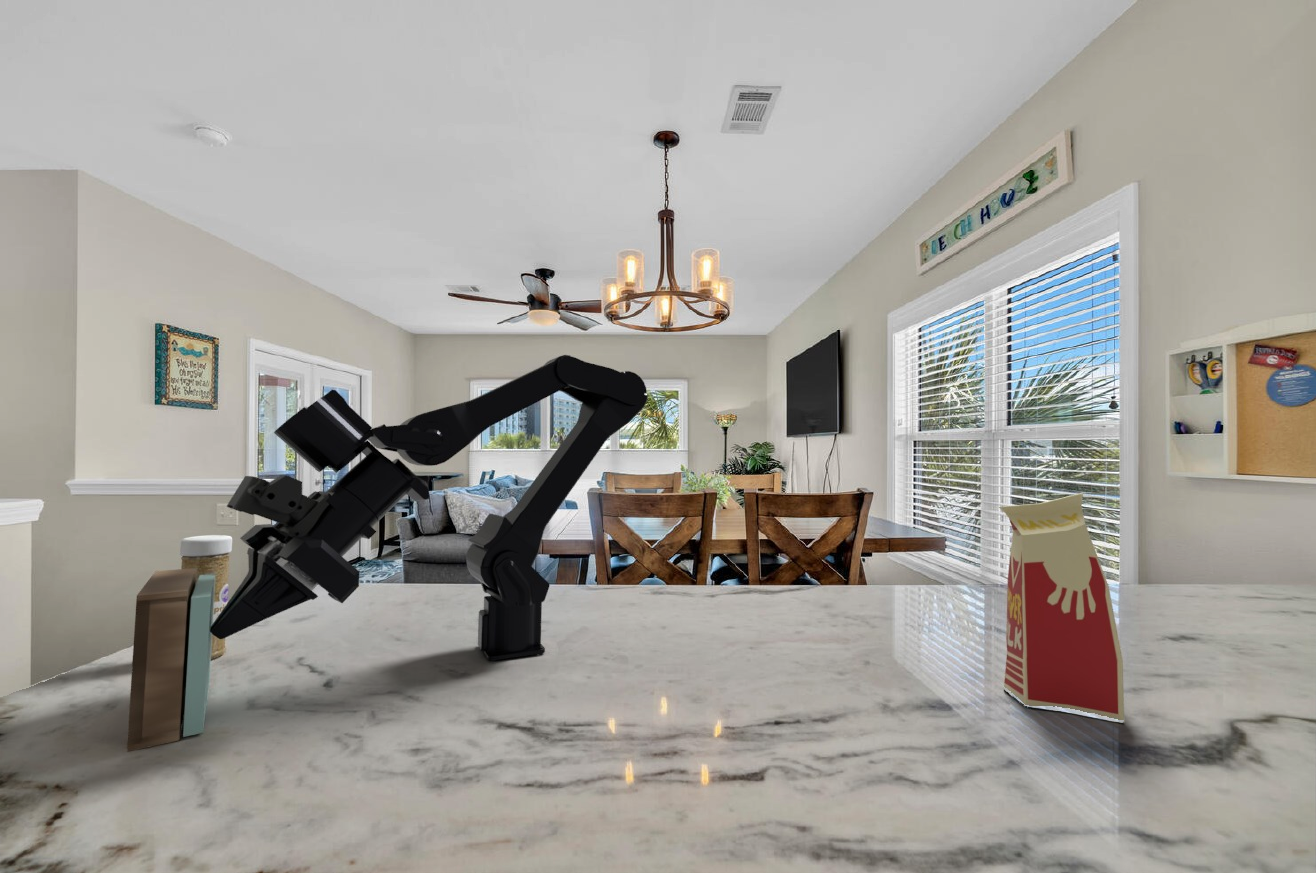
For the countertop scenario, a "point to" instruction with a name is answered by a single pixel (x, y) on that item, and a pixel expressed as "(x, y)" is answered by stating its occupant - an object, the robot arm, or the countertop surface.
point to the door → (199, 654)
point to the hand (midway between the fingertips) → (214, 635)
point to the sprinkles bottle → (210, 571)
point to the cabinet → (160, 658)
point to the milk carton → (1060, 613)
